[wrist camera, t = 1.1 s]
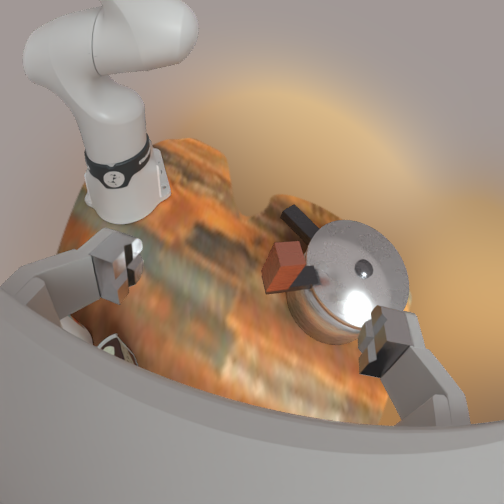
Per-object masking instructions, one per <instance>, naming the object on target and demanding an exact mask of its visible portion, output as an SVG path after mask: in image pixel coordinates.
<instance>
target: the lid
mask: <svg viewBox="0 0 504 504" xmlns="http://www.w3.org/2000/svg"><path fill="white" fill-rule="evenodd" d="M261 272H262V279H263V284H264V288H265V293H266V294H274V293H282V292H290V291H298V290H305V289H310V290H311V292H312V294H313V296H314V297H315V299H316V300H317V302H318V303H319V305H320V306H321V307H322V308H323V309H324V310H325V311H326V312H327V313H328V314H329V315H330V316H331V317H332V318H334V319H335V320H336V321H338V322H340V323H341V324H343V325H345V326H347V327H350V328H353V329H357V330H361V328H362V326H363V325H364V323H365V322H366V321H368V320H370V319H372V318H371V312H372V310H373V309H374V308H375V307H376V306H377V305H379V306H384V307H388V308H392V309H396V310H400V311H403V310H404V308H405V306H406V303H407V300H408V295H409V280H408V275H407V271H406V268H405V265H404V263H403V260H402V258H401V257H400V255H399V253H398V252H397V250H396V249H395V247H394V246H393V245H392V244H391V243H390V242H389V241H388V240H387V239H386V238H385V237H384V236H383V235H382V234H381V233H379V232H378V231H376V230H375V229H373V228H371V227H370V226H368V225H365V224H363V223H360V222H356V221H351V220H338V221H334V222H331V223H328V224H326V225H324V226H323V227H321V228H320V229H319V230H318V231H317V232H316V233H315V235H314V236H313V238H312V239H311V241H310V243H309V245H308V247H307V250H306V254H305V258H304V255H303V252H302V249H301V245H300V242H299V241H292V242H277V243H274V245H273V247H272V249H271V251H270V253H269V256H268V258H267V260H266V262H265V264H264V266H263V268H262V270H261Z"/></svg>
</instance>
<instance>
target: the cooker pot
mask: <svg viewBox="0 0 504 504" xmlns="http://www.w3.org/2000/svg"><path fill="white" fill-rule="evenodd" d="M280 218H281V219H282V220H283V221H284V222H285V223H286V224H287V225H288V226H289V227H290V228H291V229H292V230H293V231H294V232H295V233H296V234H297V235H298V236H299V237H300V238H301V239H302V240H303V241H304V242H305V243H306V244H307V245H309V243H310V241H311V239H312V238H313V236H314V235H315V233H316V232H317V231H318V230H319V228H318V227H317V226H316V225H315V224H314V223H313V222H312V221H311V220H310V219H309V218H308V217H307V216H306V215H305V214H304V213H303V212H302V211H301V210H300V209H299V208H298V207H296V206H295V205H292V206H291V207H289V208H287V209H286V210H284V211H283V212H282V215H281V217H280ZM305 254H306V252H305V253H304V258H305ZM287 302H288V306H289V309H290V312H291V314H292V316H293V318H294V320H295V321H296V323H297V324H298V325H299V327H300V328H301V329H302V330H303V331H304V332H305V333H306V334H308V335H309V336H310V337H312V338H314V339H315V340H317V341H320V342H322V343H326V344H331V345H342V344H347V343H350V342H352V341H354V340H356V339H358V336H359V333H360V330H357V329H353V328H350V327H347V326H345V325H343V324H341V323H340V322H338V321H336V320H335V319H334V318H332V317H331V316H330V315H329V314H328V313H327V312H326V311H325V310H324V309H323V308H322V307H321V306H320V305H319V303H318V302H317V300H316V299H315V297H314V296H313V294H312V292H311V290H310V289H305V290H298V291H290V292H287Z"/></svg>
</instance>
